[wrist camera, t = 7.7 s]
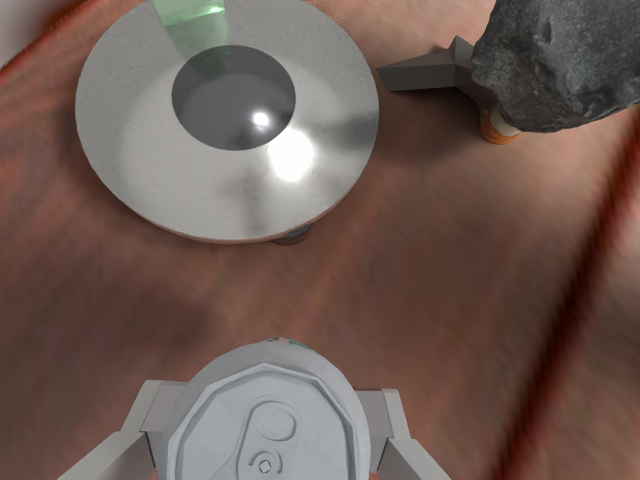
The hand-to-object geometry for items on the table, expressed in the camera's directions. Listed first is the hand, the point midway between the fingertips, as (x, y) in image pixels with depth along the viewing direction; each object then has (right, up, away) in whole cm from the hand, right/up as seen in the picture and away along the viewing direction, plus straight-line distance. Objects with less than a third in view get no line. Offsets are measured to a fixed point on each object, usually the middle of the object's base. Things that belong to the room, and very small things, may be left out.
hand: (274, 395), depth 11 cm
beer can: (-1, -3, +8) cm, 8 cm away
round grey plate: (-5, +15, +19) cm, 24 cm away
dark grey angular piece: (+16, +17, +22) cm, 33 cm away
